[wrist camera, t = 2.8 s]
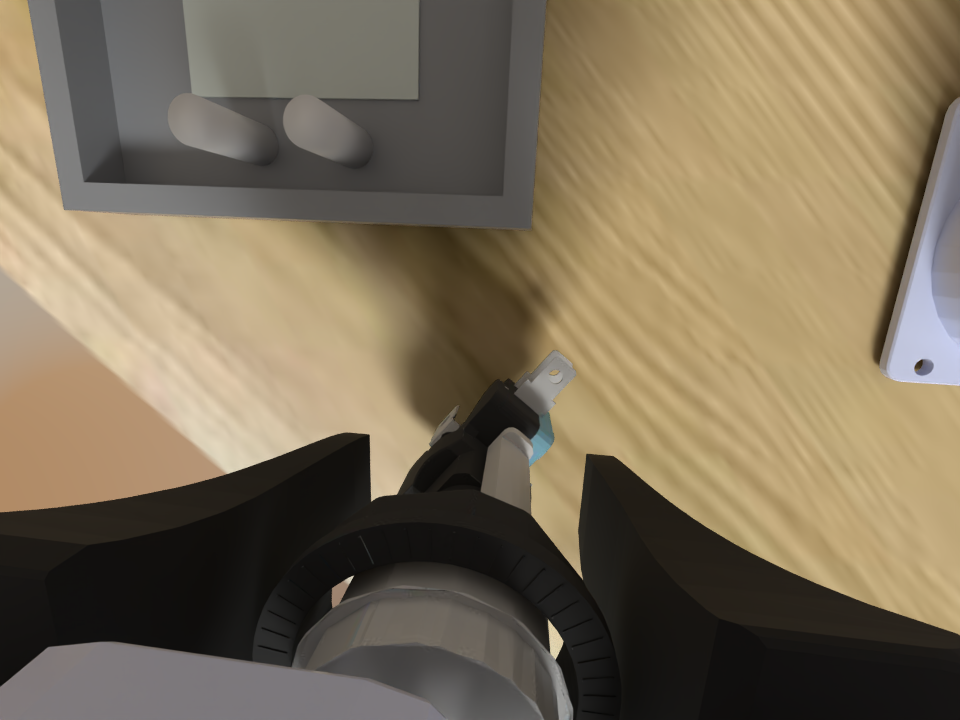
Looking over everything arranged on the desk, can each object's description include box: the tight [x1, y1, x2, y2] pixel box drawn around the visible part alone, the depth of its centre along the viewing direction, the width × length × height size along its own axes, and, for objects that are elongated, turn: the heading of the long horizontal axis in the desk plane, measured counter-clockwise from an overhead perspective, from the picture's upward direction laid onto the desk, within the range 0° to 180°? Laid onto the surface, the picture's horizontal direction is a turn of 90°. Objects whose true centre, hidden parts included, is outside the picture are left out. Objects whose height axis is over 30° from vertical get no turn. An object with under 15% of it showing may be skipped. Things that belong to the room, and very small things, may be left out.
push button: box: [252, 350, 622, 720], centre depth 10 cm, size 7×5×10 cm
